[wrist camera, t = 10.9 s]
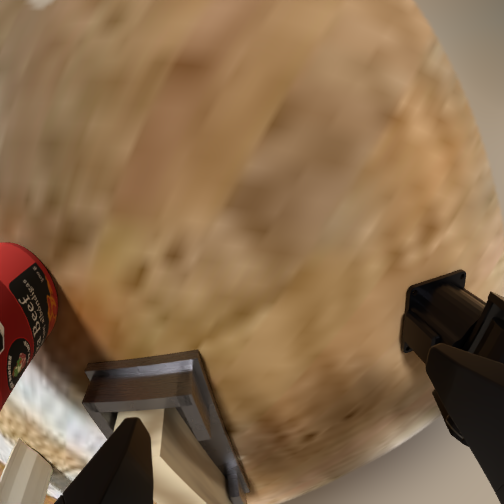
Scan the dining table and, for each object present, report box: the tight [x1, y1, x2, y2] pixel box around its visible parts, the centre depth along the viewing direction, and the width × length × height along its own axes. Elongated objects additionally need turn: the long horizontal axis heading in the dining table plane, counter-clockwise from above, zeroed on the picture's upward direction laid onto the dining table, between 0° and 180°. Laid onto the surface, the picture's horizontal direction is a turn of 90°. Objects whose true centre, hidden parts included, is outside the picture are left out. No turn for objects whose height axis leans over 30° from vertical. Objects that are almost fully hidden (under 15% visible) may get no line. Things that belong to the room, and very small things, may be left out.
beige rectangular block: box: [114, 407, 233, 504], centre depth 20 cm, size 4×16×6 cm, turn 15°
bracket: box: [82, 350, 250, 504], centre depth 22 cm, size 9×22×4 cm, turn 9°
